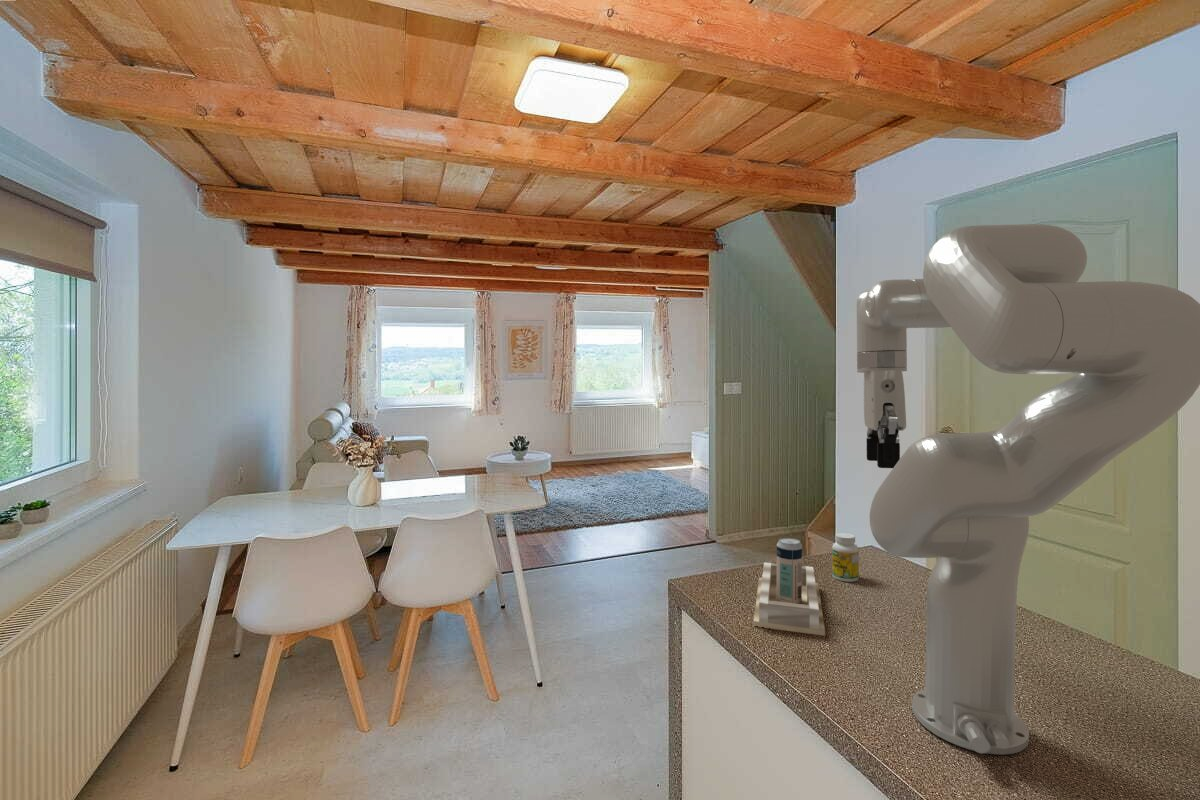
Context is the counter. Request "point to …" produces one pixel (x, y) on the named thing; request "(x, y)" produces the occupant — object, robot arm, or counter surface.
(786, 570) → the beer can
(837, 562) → the supplement bottle
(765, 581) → the open rectangular box
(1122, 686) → the counter surface
